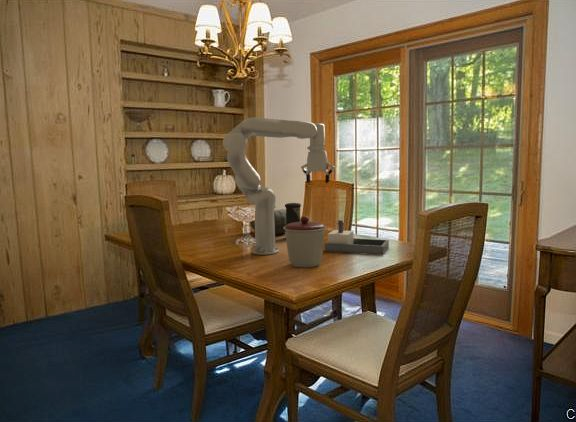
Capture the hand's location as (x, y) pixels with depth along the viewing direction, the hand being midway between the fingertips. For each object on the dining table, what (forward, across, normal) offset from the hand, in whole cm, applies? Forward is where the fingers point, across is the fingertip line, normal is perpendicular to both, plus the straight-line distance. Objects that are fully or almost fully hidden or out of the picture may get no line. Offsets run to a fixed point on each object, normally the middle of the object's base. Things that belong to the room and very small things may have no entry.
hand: (317, 182), depth 225 cm
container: (+32, -20, +16) cm, 41 cm away
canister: (+32, +7, -40) cm, 52 cm away
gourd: (+33, -38, +26) cm, 56 cm away
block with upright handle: (+31, +13, -4) cm, 34 cm away
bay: (+32, +21, -4) cm, 39 cm away
